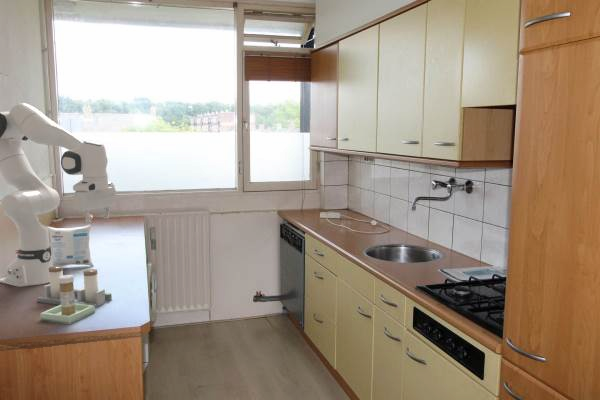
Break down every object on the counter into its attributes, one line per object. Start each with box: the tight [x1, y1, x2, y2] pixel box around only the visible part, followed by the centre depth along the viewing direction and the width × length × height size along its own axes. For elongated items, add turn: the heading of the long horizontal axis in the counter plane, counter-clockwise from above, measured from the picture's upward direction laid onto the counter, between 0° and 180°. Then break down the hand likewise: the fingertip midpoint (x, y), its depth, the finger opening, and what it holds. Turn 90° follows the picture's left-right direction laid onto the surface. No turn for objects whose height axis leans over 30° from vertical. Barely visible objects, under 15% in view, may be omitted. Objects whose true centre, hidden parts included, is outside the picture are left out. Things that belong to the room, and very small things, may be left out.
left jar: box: [49, 266, 64, 299], centre depth 199 cm, size 5×5×12 cm
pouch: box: [46, 223, 94, 267], centre depth 244 cm, size 8×19×20 cm, turn 102°
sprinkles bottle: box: [59, 274, 76, 316], centre depth 180 cm, size 5×5×14 cm
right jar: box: [82, 268, 99, 305], centre depth 194 cm, size 5×5×12 cm
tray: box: [40, 303, 96, 325], centre depth 181 cm, size 12×12×2 cm
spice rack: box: [36, 283, 113, 307], centre depth 197 cm, size 25×10×5 cm, turn 71°
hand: (97, 220), depth 202 cm, fingers open, 8 cm apart
